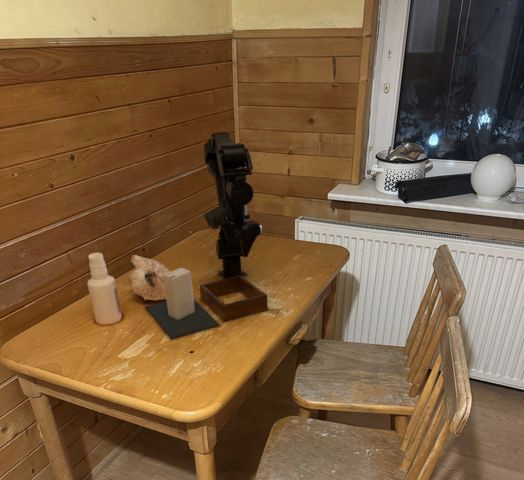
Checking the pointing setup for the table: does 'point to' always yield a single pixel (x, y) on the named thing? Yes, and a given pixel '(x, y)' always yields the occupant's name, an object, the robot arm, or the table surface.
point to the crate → (235, 309)
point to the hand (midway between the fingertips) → (238, 251)
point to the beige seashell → (148, 278)
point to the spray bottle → (103, 292)
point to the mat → (181, 320)
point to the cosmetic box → (179, 293)
